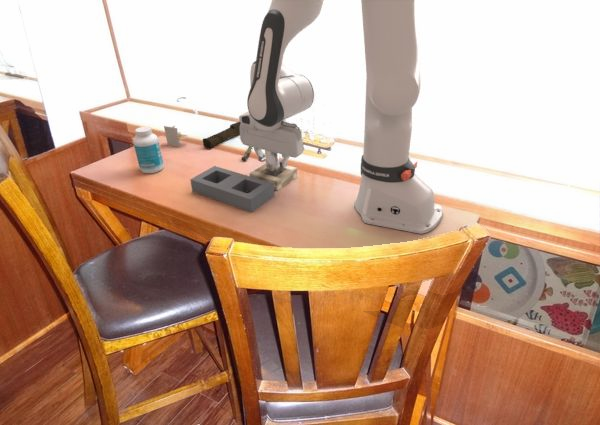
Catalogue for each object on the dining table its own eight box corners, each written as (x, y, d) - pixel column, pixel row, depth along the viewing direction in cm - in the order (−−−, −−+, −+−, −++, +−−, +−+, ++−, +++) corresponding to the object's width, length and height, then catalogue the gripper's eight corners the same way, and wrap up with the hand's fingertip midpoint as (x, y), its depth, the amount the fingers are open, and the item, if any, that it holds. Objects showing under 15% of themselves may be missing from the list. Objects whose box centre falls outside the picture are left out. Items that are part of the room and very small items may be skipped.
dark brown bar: (210, 150, 150) (208, 138, 148) (203, 148, 153) (201, 135, 150) (249, 133, 163) (248, 122, 160) (241, 131, 165) (240, 119, 162)
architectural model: (173, 142, 158) (169, 122, 154) (189, 145, 156) (185, 125, 152) (167, 145, 156) (163, 126, 152) (182, 148, 153) (179, 128, 149)
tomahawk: (244, 139, 160) (243, 136, 160) (261, 138, 159) (261, 135, 159) (228, 163, 143) (228, 160, 142) (248, 162, 142) (247, 159, 141)
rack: (274, 196, 122) (273, 183, 120) (251, 212, 115) (250, 199, 113) (216, 177, 133) (214, 165, 131) (192, 191, 126) (190, 179, 124)
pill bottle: (167, 170, 138) (158, 130, 131) (144, 176, 135) (133, 135, 128) (160, 162, 143) (151, 122, 136) (137, 167, 140) (127, 128, 133)
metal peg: (283, 178, 131) (281, 147, 126) (275, 183, 128) (273, 152, 123) (272, 175, 133) (270, 144, 128) (264, 180, 130) (262, 149, 125)
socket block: (297, 176, 132) (296, 167, 130) (277, 190, 125) (277, 181, 123) (270, 169, 136) (270, 160, 135) (250, 182, 129) (249, 173, 128)
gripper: (307, 121, 118) (308, 167, 125) (248, 109, 127) (252, 152, 135) (294, 129, 113) (296, 176, 121) (234, 115, 123) (239, 160, 130)
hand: (272, 163), depth 128 cm, fingers open, 6 cm apart
